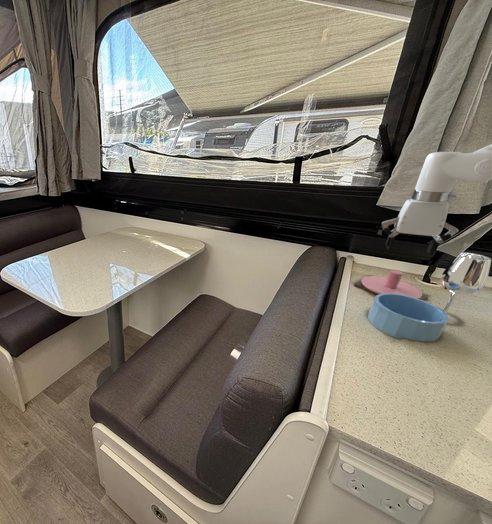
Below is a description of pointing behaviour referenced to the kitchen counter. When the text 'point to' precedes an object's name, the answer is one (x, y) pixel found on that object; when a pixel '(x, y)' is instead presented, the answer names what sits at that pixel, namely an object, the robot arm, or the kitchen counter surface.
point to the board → (377, 293)
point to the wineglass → (465, 275)
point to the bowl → (407, 317)
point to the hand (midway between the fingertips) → (408, 250)
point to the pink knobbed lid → (391, 285)
